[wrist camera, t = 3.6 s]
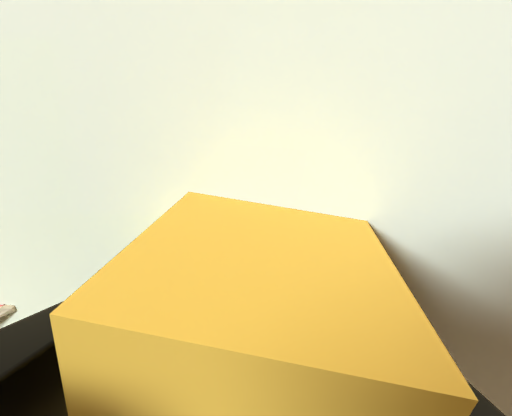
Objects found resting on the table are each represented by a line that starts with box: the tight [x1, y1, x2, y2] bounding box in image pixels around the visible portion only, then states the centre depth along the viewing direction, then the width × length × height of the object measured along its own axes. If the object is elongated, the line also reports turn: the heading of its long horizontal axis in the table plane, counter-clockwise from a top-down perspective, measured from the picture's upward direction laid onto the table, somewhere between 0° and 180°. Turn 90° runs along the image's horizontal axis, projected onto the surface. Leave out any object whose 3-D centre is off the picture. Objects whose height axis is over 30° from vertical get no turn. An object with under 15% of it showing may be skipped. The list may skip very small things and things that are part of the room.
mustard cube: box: [49, 192, 478, 416], centre depth 6 cm, size 5×5×5 cm
